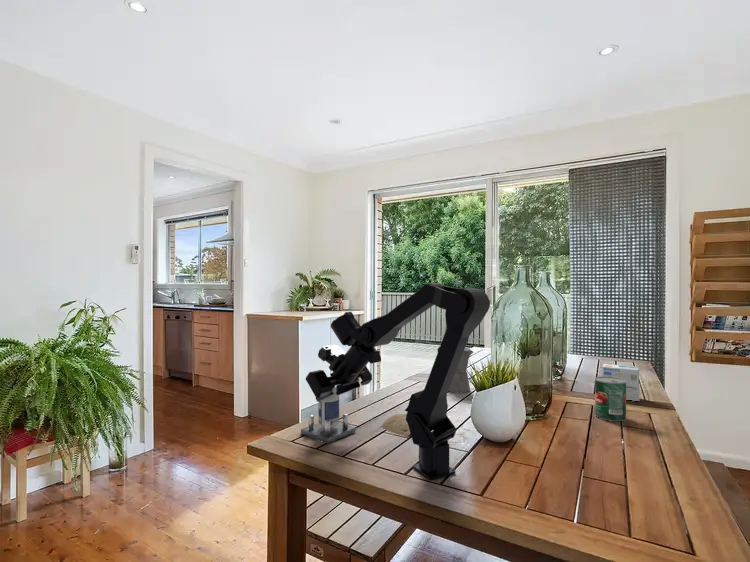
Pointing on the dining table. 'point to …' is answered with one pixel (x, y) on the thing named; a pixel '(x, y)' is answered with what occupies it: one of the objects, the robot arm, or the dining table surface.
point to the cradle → (328, 430)
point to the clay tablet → (397, 425)
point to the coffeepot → (461, 374)
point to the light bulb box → (625, 378)
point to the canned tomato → (610, 398)
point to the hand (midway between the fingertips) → (325, 397)
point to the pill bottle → (329, 410)
